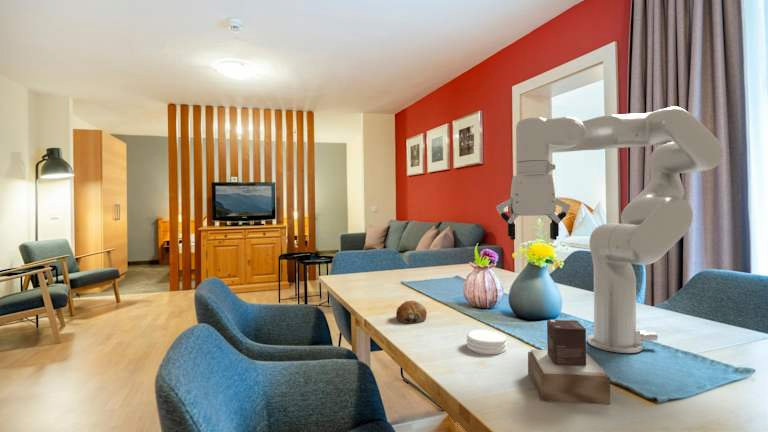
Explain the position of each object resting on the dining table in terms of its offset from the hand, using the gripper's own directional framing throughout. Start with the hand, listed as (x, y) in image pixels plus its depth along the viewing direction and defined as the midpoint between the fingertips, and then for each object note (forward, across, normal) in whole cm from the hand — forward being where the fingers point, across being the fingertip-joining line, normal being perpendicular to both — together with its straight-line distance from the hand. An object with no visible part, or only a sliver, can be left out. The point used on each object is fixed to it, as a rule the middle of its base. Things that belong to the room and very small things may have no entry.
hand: (532, 239), depth 99 cm
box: (+23, -2, +19) cm, 30 cm away
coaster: (+29, +11, -3) cm, 31 cm away
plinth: (+28, -2, +19) cm, 34 cm away
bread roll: (+29, +32, -27) cm, 51 cm away
